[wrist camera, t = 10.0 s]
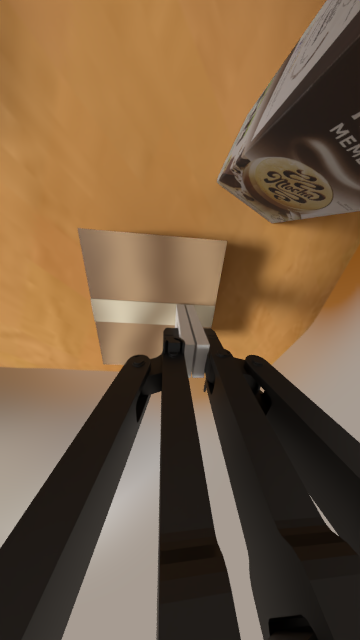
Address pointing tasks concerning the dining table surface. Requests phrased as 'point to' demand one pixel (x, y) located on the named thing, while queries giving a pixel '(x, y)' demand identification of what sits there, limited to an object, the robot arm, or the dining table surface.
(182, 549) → the robot arm
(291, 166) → the coffee box
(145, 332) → the lid
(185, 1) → the dining table surface
